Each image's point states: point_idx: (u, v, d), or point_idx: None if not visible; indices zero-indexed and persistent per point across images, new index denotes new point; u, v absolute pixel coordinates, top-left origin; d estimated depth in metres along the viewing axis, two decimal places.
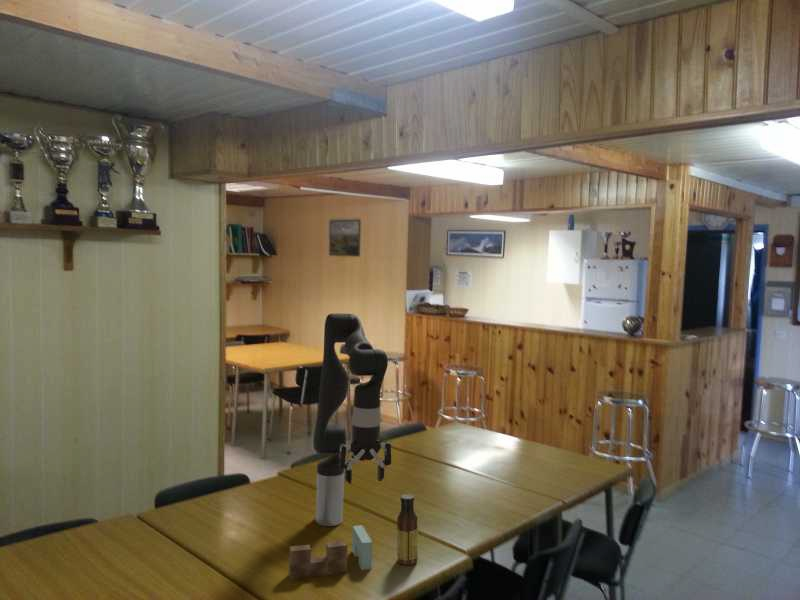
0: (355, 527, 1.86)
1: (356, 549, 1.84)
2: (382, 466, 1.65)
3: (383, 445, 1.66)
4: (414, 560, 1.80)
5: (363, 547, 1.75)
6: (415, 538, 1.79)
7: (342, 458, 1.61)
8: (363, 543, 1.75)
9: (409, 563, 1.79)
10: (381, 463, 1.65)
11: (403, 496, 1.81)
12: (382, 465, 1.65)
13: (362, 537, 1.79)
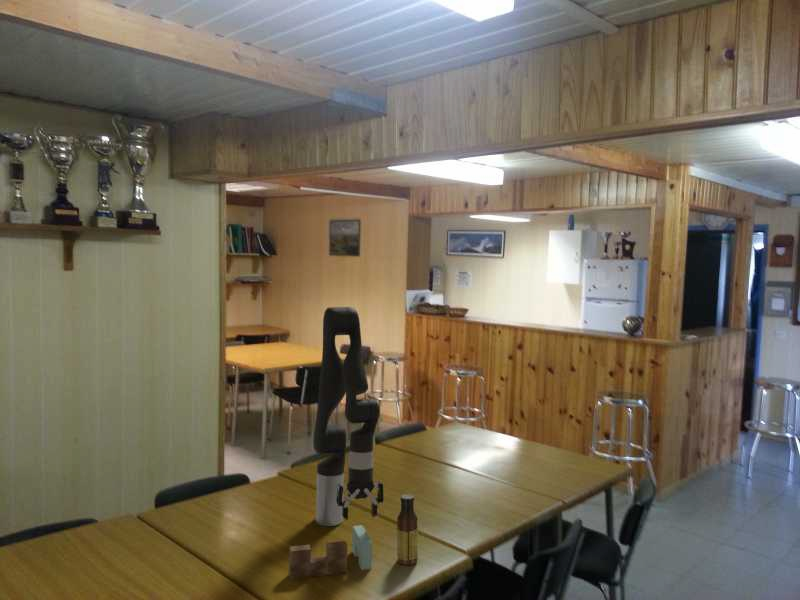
0: (355, 527, 1.86)
1: (356, 549, 1.84)
2: (375, 503, 1.85)
3: (376, 484, 1.86)
4: (414, 560, 1.80)
5: (363, 547, 1.75)
6: (415, 538, 1.79)
7: (339, 497, 1.81)
8: (363, 543, 1.75)
9: (409, 563, 1.79)
10: (374, 501, 1.85)
11: (403, 496, 1.81)
12: (375, 502, 1.85)
13: (362, 537, 1.79)
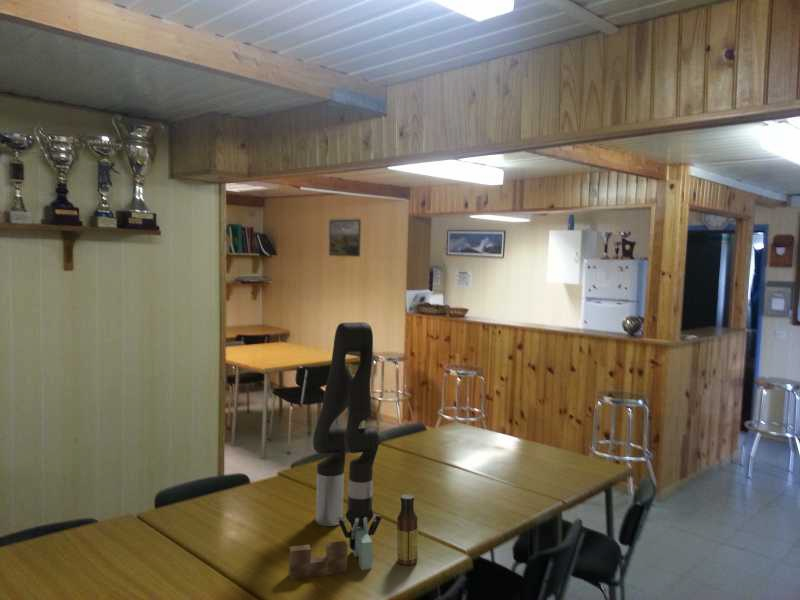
0: None
1: (356, 549, 1.84)
2: None
3: (375, 516, 1.86)
4: (414, 560, 1.80)
5: (363, 547, 1.75)
6: (415, 538, 1.79)
7: (344, 530, 1.82)
8: (363, 543, 1.75)
9: (409, 563, 1.79)
10: None
11: (403, 496, 1.81)
12: None
13: (362, 536, 1.79)
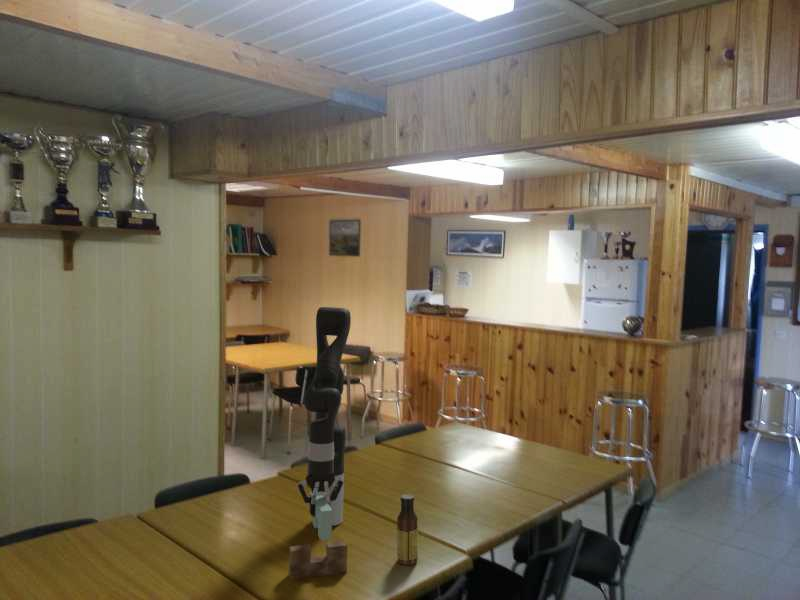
0: None
1: (316, 520, 1.74)
2: (327, 501, 1.75)
3: (336, 480, 1.77)
4: (414, 560, 1.80)
5: (322, 516, 1.66)
6: (415, 538, 1.79)
7: (303, 494, 1.73)
8: (322, 511, 1.66)
9: (409, 563, 1.79)
10: (328, 498, 1.75)
11: (403, 496, 1.81)
12: (327, 500, 1.75)
13: (322, 505, 1.70)
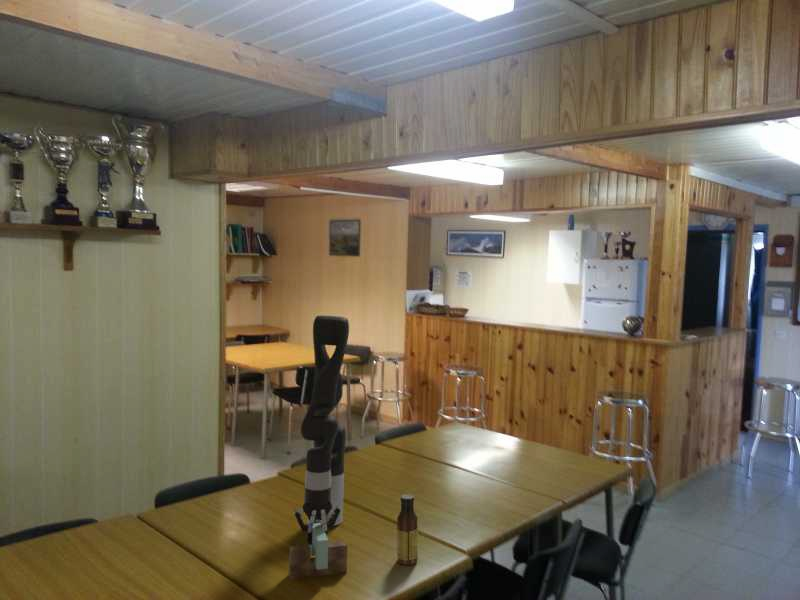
0: None
1: (313, 548, 1.75)
2: (324, 529, 1.75)
3: (334, 508, 1.77)
4: (414, 560, 1.80)
5: (318, 545, 1.66)
6: (415, 538, 1.79)
7: (300, 523, 1.73)
8: (318, 541, 1.66)
9: (409, 563, 1.79)
10: (325, 526, 1.75)
11: (403, 496, 1.81)
12: (324, 528, 1.75)
13: (318, 534, 1.70)
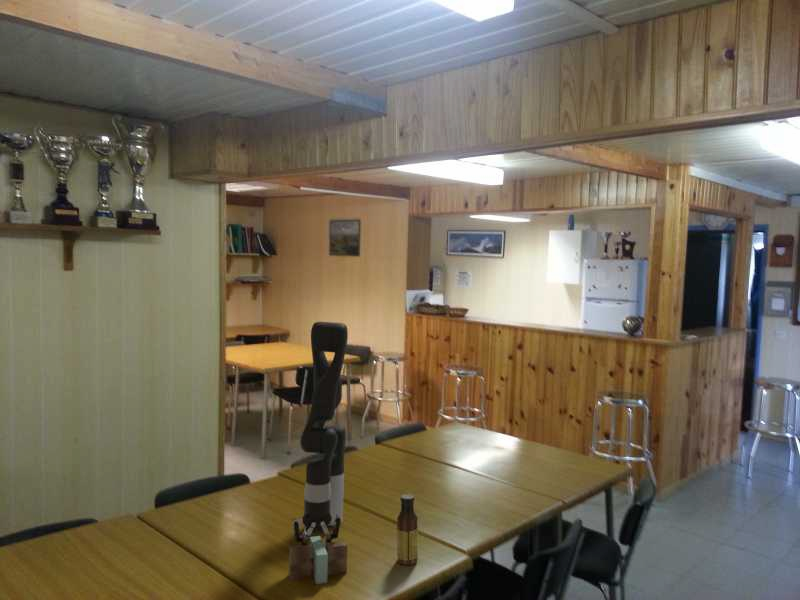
0: (312, 538, 1.77)
1: None
2: (329, 539, 1.76)
3: (334, 518, 1.77)
4: (414, 560, 1.80)
5: (318, 560, 1.67)
6: (415, 538, 1.79)
7: (296, 533, 1.73)
8: (318, 556, 1.67)
9: (409, 563, 1.79)
10: (328, 536, 1.76)
11: (403, 496, 1.81)
12: (329, 538, 1.76)
13: (318, 548, 1.70)
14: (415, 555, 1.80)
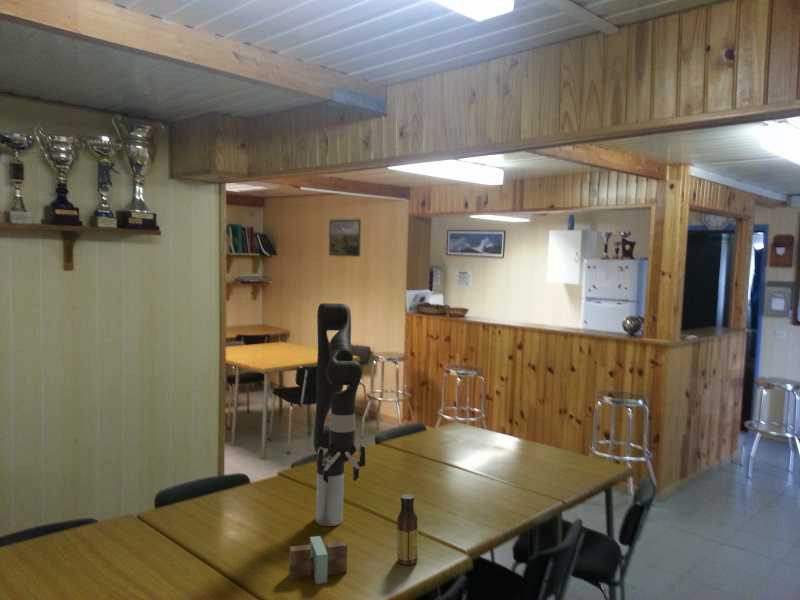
0: (312, 538, 1.77)
1: None
2: (357, 467, 1.80)
3: (358, 448, 1.81)
4: (414, 560, 1.80)
5: (318, 560, 1.67)
6: (415, 538, 1.79)
7: (319, 460, 1.77)
8: (318, 556, 1.67)
9: (409, 563, 1.79)
10: (356, 464, 1.80)
11: (403, 496, 1.81)
12: (357, 466, 1.80)
13: (318, 548, 1.70)
14: (415, 555, 1.80)
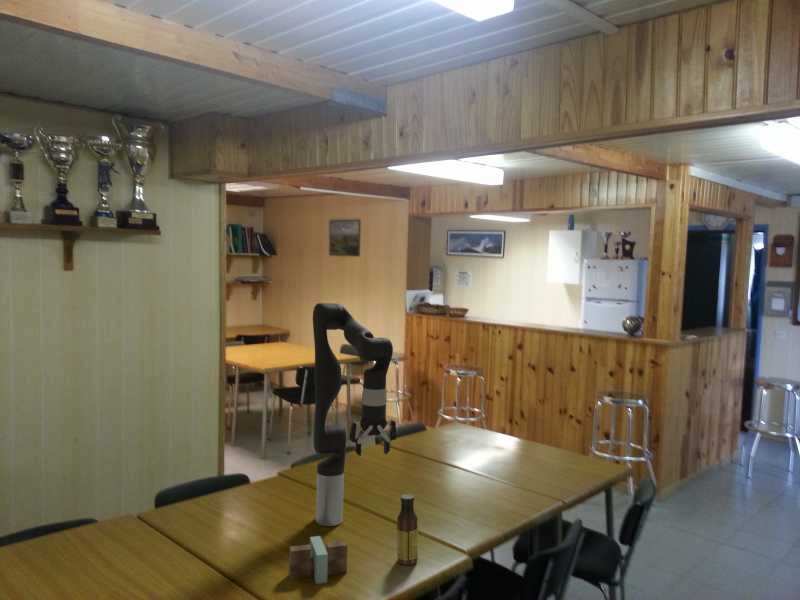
0: (312, 538, 1.77)
1: None
2: (388, 440, 1.87)
3: (389, 422, 1.88)
4: (414, 560, 1.80)
5: (318, 560, 1.67)
6: (415, 538, 1.79)
7: (353, 433, 1.84)
8: (318, 556, 1.67)
9: (409, 563, 1.79)
10: (387, 438, 1.87)
11: (403, 496, 1.81)
12: (388, 440, 1.87)
13: (318, 548, 1.70)
14: (415, 555, 1.80)
